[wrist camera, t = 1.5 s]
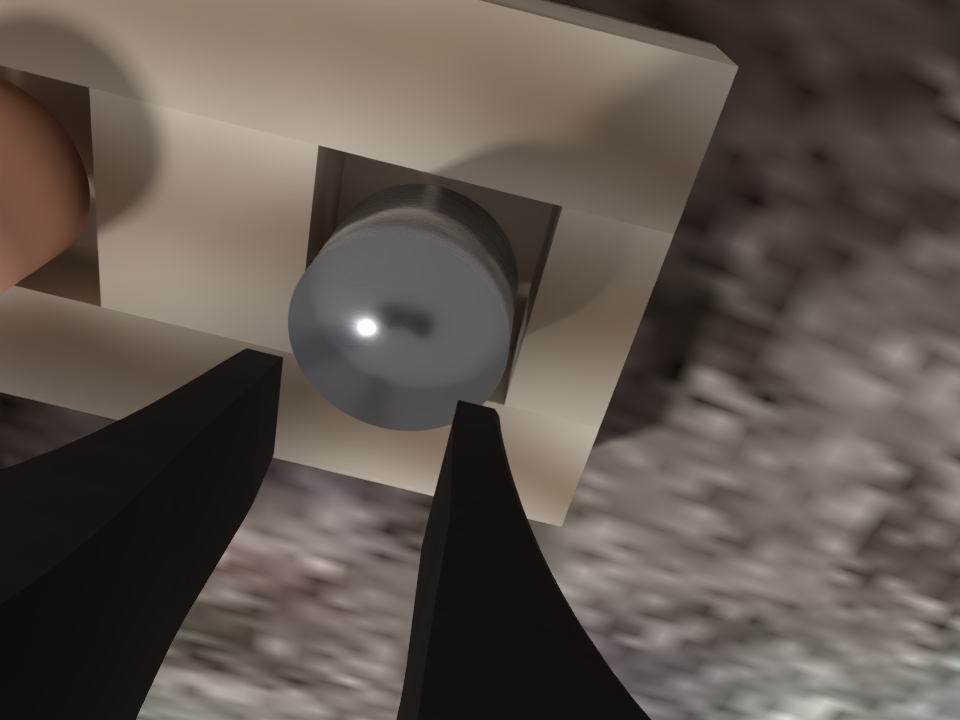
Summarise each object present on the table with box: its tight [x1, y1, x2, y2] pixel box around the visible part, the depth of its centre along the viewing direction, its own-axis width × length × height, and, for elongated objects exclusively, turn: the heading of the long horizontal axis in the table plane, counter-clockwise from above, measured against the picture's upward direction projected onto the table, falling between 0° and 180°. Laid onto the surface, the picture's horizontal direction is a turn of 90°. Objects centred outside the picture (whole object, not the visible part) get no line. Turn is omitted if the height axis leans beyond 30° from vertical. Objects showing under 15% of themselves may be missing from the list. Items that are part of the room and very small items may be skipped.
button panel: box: [0, 0, 738, 527], centre depth 18 cm, size 12×20×3 cm, turn 77°
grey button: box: [288, 184, 518, 431], centre depth 16 cm, size 4×4×3 cm
